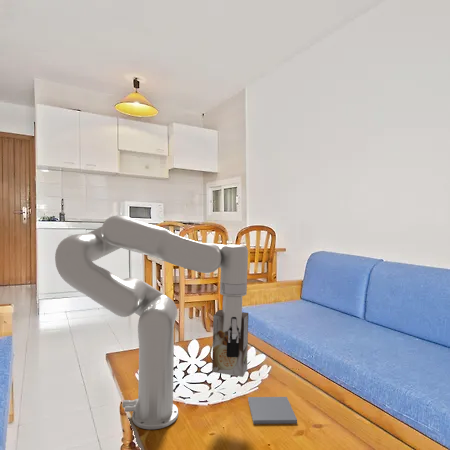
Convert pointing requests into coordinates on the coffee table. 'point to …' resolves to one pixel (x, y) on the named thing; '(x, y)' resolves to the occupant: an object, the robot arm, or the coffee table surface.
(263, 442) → the coffee table surface
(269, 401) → the slate tile
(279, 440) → the coffee table surface
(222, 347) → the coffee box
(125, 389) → the coffee table surface
